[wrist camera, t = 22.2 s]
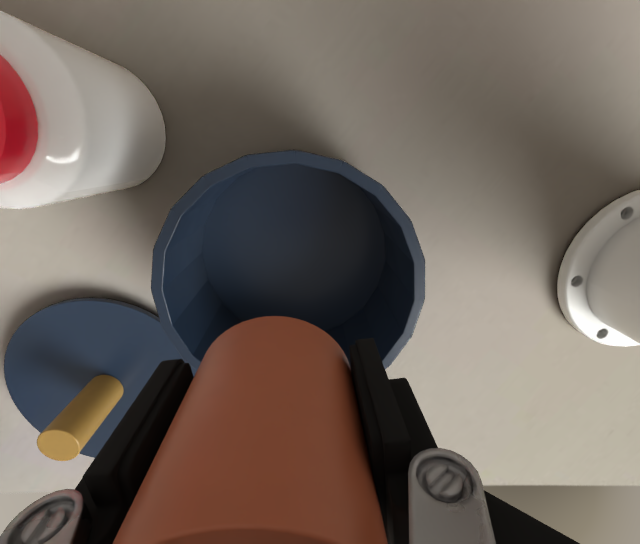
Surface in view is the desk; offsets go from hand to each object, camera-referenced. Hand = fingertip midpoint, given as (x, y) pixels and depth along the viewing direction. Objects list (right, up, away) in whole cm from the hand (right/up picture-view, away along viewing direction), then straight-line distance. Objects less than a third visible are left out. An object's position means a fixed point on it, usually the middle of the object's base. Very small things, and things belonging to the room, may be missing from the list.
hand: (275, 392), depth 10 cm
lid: (-15, -5, +17) cm, 23 cm away
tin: (0, +5, +14) cm, 15 cm away
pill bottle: (-12, +13, +11) cm, 21 cm away
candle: (0, 0, 0) cm, 0 cm away
